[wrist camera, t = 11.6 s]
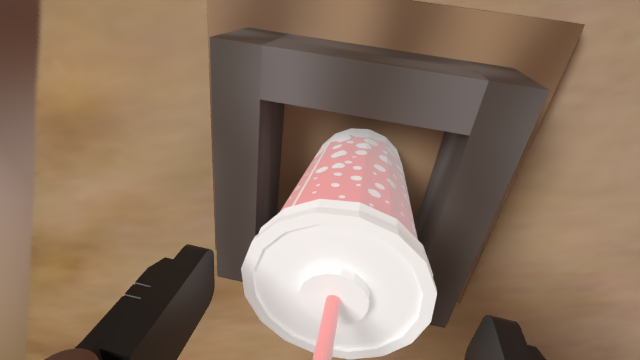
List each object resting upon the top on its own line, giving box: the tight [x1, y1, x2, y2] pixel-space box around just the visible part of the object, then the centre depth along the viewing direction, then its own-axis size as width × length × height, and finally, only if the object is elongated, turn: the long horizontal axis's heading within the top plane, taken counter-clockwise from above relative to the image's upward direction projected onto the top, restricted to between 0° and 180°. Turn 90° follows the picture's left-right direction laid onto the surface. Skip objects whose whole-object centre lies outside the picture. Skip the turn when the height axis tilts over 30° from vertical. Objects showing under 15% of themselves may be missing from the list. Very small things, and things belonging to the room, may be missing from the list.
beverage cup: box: [241, 128, 437, 360], centre depth 13 cm, size 6×6×14 cm
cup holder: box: [207, 0, 585, 328], centre depth 17 cm, size 16×16×5 cm
